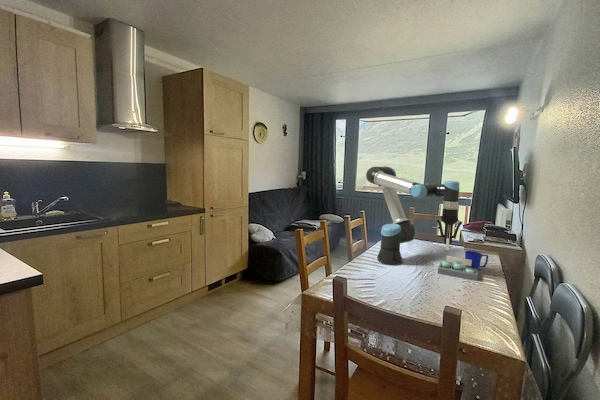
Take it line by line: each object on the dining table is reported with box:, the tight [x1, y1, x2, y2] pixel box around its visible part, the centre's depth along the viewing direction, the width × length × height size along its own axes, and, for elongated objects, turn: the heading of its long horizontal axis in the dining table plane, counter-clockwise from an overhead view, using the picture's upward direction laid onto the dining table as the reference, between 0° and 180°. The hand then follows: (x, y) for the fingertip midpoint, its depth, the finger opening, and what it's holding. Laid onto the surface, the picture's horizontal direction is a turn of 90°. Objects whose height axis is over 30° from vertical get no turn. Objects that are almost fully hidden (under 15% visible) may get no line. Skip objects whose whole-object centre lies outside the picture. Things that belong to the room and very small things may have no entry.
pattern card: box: [445, 255, 472, 267], centre depth 164 cm, size 13×1×7 cm, turn 58°
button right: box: [465, 268, 475, 273], centre depth 154 cm, size 4×4×3 cm
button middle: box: [453, 263, 462, 271], centre depth 157 cm, size 4×4×3 cm
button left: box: [441, 260, 450, 268], centre depth 160 cm, size 4×4×3 cm
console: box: [437, 261, 479, 282], centre depth 158 cm, size 19×12×3 cm, turn 58°
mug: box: [464, 250, 489, 271], centre depth 164 cm, size 8×12×10 cm
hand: (447, 249), depth 159 cm, fingers closed
